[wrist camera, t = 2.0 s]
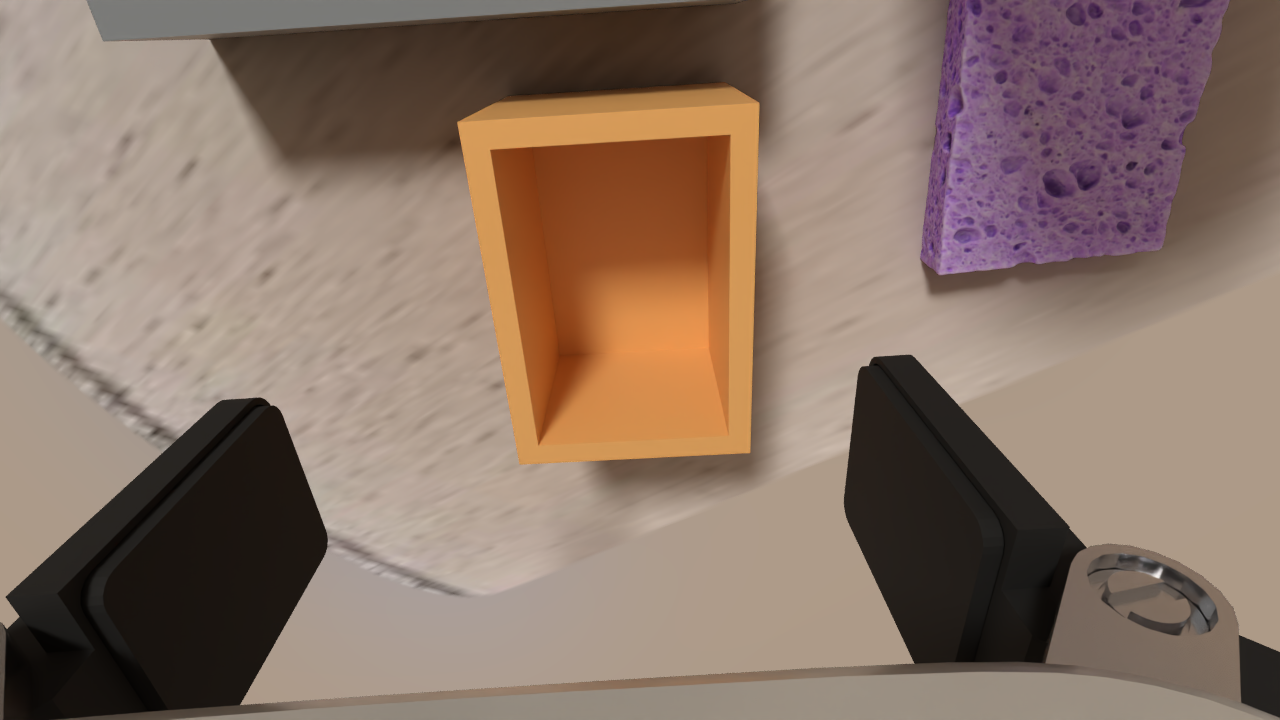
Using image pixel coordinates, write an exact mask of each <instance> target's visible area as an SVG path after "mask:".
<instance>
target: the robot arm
mask: <svg viewBox="0 0 1280 720" xmlns="http://www.w3.org/2000/svg"><path fill="white" fill-rule="evenodd" d="M844 508H845V513H846V518H847V520H848V523H849V525H850V527H851V529H852V531H853V533H854V536H855V537H856V540H857V542H858V544H859V546H860V548H861V551H862V553H863V555H864V557H865V559H866V561H867V563H868V565H869V568H870V570H871V572H872V574H873V576H874V578H875V580H876V583H877V584H878V587H879V589H880V591H881V593H882V595H883V597H884V600H885V601H886V604H887V606H888V608H889V610H890V612H891V614H892V617H893V618H894V621H895V623H896V625H897V627H898V629H899V631H900V634H901V636H902V638H903V640H904V642H905V644H906V646H907V648H908V651H909V653H910V655H911V657H912V659H913V661H914V663H915V664H898V665H876V666H854V667H831V668H810V669H792V670H776V671H759V672H745V673H744V672H742V673H726V674H708V675H693V676H676V677H659V678H642V679H625V680H609V681H592V682H579V683H562V684H546V685H532V686H531V685H530V686H516V687H501V688H500V687H499V688H485V689H469V690H454V691H440V692H424V693H410V694H393V695H378V696H364V697H349V698H335V699H321V700H309V701H293V702H279V703H265V704H253V705H252V704H251V705H240V704H241V702H242V700H243V699H244V696H245V695H246V693H247V692H248V690H249V688H250V686H251V684H252V683H253V681H254V679H255V678H256V676H257V674H258V672H259V670H260V669H261V667H262V665H263V663H264V662H265V660H266V658H267V656H268V655H269V653H270V651H271V649H272V648H273V646H274V644H275V642H276V640H277V639H278V637H279V635H280V633H281V632H282V630H283V628H284V626H285V625H286V623H287V621H288V619H289V618H290V616H291V614H292V612H293V610H294V609H295V607H296V605H297V603H298V601H299V600H300V598H301V596H302V595H303V593H304V591H305V589H306V588H307V586H308V584H309V582H310V580H311V579H312V577H313V575H314V573H315V572H316V570H317V568H318V566H319V565H320V563H321V561H322V559H323V557H324V555H325V553H326V550H327V543H328V538H327V532H326V529H325V527H324V524H323V521H322V519H321V516H320V513H319V511H318V508H317V505H316V503H315V500H314V498H313V495H312V492H311V490H310V487H309V484H308V482H307V479H306V476H305V474H304V471H303V468H302V466H301V463H300V460H299V458H298V455H297V452H296V450H295V447H294V444H293V442H292V439H291V437H290V434H289V431H288V429H287V426H286V423H285V421H284V418H283V415H282V413H281V411H280V410H279V409H278V408H277V407H276V406H270V404H269V403H268V402H267V401H266V400H265V399H263V398H246V399H231V400H222V401H220V402H218V403H217V404H216V405H215V406H214V407H212V408H211V409H210V410H209V411H208V412H207V413H206V414H205V415H204V416H203V417H202V418H200V419H199V420H198V421H197V422H196V423H195V424H194V425H193V426H192V427H191V428H190V429H188V430H187V431H186V432H185V433H184V434H183V435H182V436H181V437H180V438H179V439H177V440H176V441H175V442H174V443H173V444H172V445H171V446H170V447H169V448H168V449H167V450H165V451H164V452H163V453H162V454H161V455H160V456H159V457H158V458H157V459H156V460H155V461H153V463H151V464H150V465H149V466H148V467H147V468H146V469H145V470H144V471H143V472H142V473H140V475H138V476H137V477H136V478H135V479H134V480H133V481H132V482H130V483H129V484H128V485H127V486H126V487H125V488H124V489H123V490H122V491H121V492H120V493H119V494H117V495H116V496H115V497H114V498H113V499H112V500H111V501H110V502H109V503H108V504H107V505H105V506H104V507H103V508H102V509H101V510H100V511H99V512H98V513H97V514H96V515H94V516H93V517H92V518H91V519H90V520H89V521H88V522H87V523H86V524H85V525H84V526H82V527H81V528H80V529H79V530H78V531H77V532H76V533H75V534H74V535H73V536H71V538H69V539H68V540H67V541H66V542H65V543H64V544H63V545H62V546H61V547H59V548H58V549H57V550H56V551H55V552H54V553H53V554H52V555H51V556H50V557H49V558H47V559H46V560H45V561H44V562H43V563H42V564H41V565H40V566H39V567H38V568H37V569H35V570H34V571H33V572H32V573H31V574H30V575H29V576H28V577H27V578H26V579H25V580H24V581H22V582H21V583H20V584H19V585H18V586H17V587H16V588H15V589H14V590H13V591H11V592H10V593H9V594H8V595H7V596H6V598H7V600H8V601H9V602H10V604H11V605H12V606H13V608H14V609H15V611H16V612H17V613H18V615H19V616H20V617H19V618H18V619H17V620H16V621H15V622H14V623H13V624H12V625H11V626H10V627H9V628H8V629H6V628H5V626H4V625H3V624H2V623H1V622H0V720H1280V652H1278V651H1276V650H1273V649H1271V648H1269V647H1266V646H1264V645H1262V644H1259V643H1257V642H1254V641H1252V640H1250V639H1247V638H1245V637H1242V636H1240V635H1239V628H1238V622H1237V618H1236V615H1235V611H1234V608H1233V607H1232V606H1231V604H1230V603H1229V602H1228V600H1227V599H1226V598H1225V597H1224V595H1223V594H1222V593H1221V591H1219V590H1218V589H1217V588H1216V587H1214V585H1212V584H1211V583H1210V582H1209V581H1207V580H1206V579H1205V578H1204V577H1203V576H1202V575H1200V574H1198V573H1197V572H1195V571H1193V570H1192V569H1190V568H1188V567H1187V566H1185V565H1183V564H1181V563H1180V562H1178V561H1175V560H1173V559H1171V558H1168V557H1166V556H1163V555H1161V554H1159V553H1156V552H1153V551H1149V550H1145V549H1141V548H1137V547H1134V546H1128V545H1118V544H1102V545H1095V546H1090V547H1088V548H1086V546H1085V545H1084V544H1083V543H1082V542H1081V541H1080V540H1079V539H1078V538H1077V537H1076V535H1075V534H1074V533H1073V532H1072V531H1071V530H1070V529H1069V528H1070V527H1069V526H1068V525H1067V523H1065V521H1064V520H1063V519H1062V518H1061V517H1060V516H1059V515H1058V514H1057V513H1056V511H1055V510H1054V509H1053V508H1052V507H1051V506H1050V505H1049V504H1048V503H1047V502H1046V501H1045V499H1044V498H1043V497H1042V496H1041V495H1040V494H1039V493H1038V492H1037V491H1036V490H1035V488H1034V487H1033V486H1032V485H1031V484H1030V483H1029V482H1028V481H1027V480H1026V479H1025V478H1024V476H1023V475H1022V474H1021V473H1020V472H1019V471H1018V470H1017V469H1016V468H1015V467H1014V466H1013V465H1012V463H1011V462H1010V461H1009V460H1008V459H1007V458H1006V457H1005V456H1004V455H1003V454H1002V452H1001V451H1000V450H999V449H998V448H997V447H996V446H995V445H994V444H993V443H992V442H991V440H990V439H988V437H987V436H986V435H985V434H984V433H983V432H982V431H981V430H980V428H979V427H978V426H977V425H976V424H975V423H974V422H973V421H972V420H971V419H970V418H969V416H968V415H967V414H966V413H965V412H964V411H963V410H962V409H961V408H960V407H959V405H958V404H957V403H956V402H955V401H954V400H953V399H952V398H951V397H950V396H949V395H948V393H947V392H946V391H945V390H944V389H943V388H942V387H941V386H940V385H939V384H938V383H937V381H936V380H935V379H934V378H933V377H932V376H931V375H930V374H929V373H928V372H927V370H926V369H925V368H924V367H923V366H922V365H921V364H920V363H919V362H918V361H917V360H916V358H915V357H913V356H912V355H896V356H881V357H874V358H873V359H871V362H870V364H869V366H864V367H861V368H860V370H859V373H858V380H857V388H856V397H855V406H854V415H853V424H852V433H851V441H850V450H849V459H848V468H847V478H846V486H845V494H844Z"/></svg>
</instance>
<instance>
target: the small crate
mask: <svg viewBox="0 0 1280 720" xmlns="http://www.w3.org/2000/svg"><path fill="white" fill-rule="evenodd" d="M457 124H458V129H459V135H460V140H461V146H462V151H463V156H464V162H465V167H466V173H467V178H468V184H469V189H470V195H471V200H472V206H473V211H474V217H475V222H476V228H477V233H478V239H479V244H480V250H481V255H482V261H483V266H484V272H485V277H486V283H487V288H488V293H489V299H490V304H491V310H492V315H493V321H494V326H495V332H496V337H497V343H498V348H499V354H500V359H501V365H502V370H503V376H504V381H505V387H506V392H507V398H508V403H509V409H510V414H511V420H512V425H513V430H514V436H515V441H516V447H517V452H518V458H519V463H520V464H540V463H560V462H580V461H600V460H620V459H640V458H659V457H679V456H699V455H719V454H739V453H750V442H751V404H752V366H753V328H754V290H755V252H756V214H757V176H758V138H759V102H757V101H756V100H754V99H752V98H751V97H749V96H747V95H745V94H744V93H742V92H740V91H739V90H737V89H735V88H734V87H732V86H730V85H729V84H727V83H725V82H718V83H702V84H687V85H671V86H656V87H641V88H625V89H610V90H594V91H579V92H563V93H548V94H533V95H517V96H508V97H506V98H504V99H502V100H500V101H498V102H496V103H494V104H492V105H490V106H488V107H486V108H484V109H482V110H480V111H478V112H476V113H474V114H472V115H470V116H468V117H466V118H464V119H462V120H460V121H458V122H457Z"/></svg>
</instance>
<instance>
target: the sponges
mask: <svg viewBox="0 0 1280 720" xmlns="http://www.w3.org/2000/svg"><path fill="white" fill-rule="evenodd" d="M1229 2H1230V0H950V4H949V9H948V13H947V28H946V36H945V46H944V57H943V63H942V75H941V82H940V90H939V100H938V111H937V116H936V123H935V125H936V129H937V133H936V136H935V145H934V150H933V153H932V158H931V168H930V176H929V185H928V196H927V201H926V210H925V219H924V226H923V237H922V251H921V256H920V259H921V260H922V261H923V262H924V263H925V264H926V265H928V266H929V267H930V268H933V269H934V271H935V272H936V273H937V274H938V275H946V274H954V273H965V272H973V271H988V270H994V269H1002V268H1011V267H1014V266H1015V265H1016V264H1018V263H1024V262H1032V263H1035V264H1043V263H1049V262H1056V261H1069V260H1071V259H1072V258H1076V257H1079V258H1087V257H1092V256H1099V257H1100V256H1102V255H1111V256H1119V255H1125V254H1132V253H1136V252H1143V251H1158V250H1160V249H1161V248H1162V247H1163V242H1164V238H1165V235H1166V224H1167V221H1168V218H1169V215H1170V211H1171V204H1172V200H1173V198H1174V196H1175V194H1176V191H1177V186H1178V183H1179V179H1180V173H1181V166H1182V162H1183V159H1184V156H1185V152H1186V148H1185V146H1184V145H1183V144H1182V138H1183V133H1184V130H1185V127H1186V126H1187V125H1188V124H1189V123H1190V122H1192V121H1194V119H1195V117H1196V114H1197V111H1198V107H1199V103H1200V98H1201V96H1202V94H1203V91H1204V89H1205V85H1206V83H1207V80H1208V78H1209V75H1210V73H1211V67H1212V51H1213V49H1214V47H1215V45H1216V44H1217V42H1218V40H1219V37H1220V34H1221V30H1222V19H1223V15H1224V13H1225V12H1226V10H1227V8H1228V5H1229Z"/></svg>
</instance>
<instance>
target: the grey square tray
mask: <svg viewBox="0 0 1280 720" xmlns="http://www.w3.org/2000/svg"><path fill="white" fill-rule="evenodd" d="M743 1H746V0H87V3H88V5H89V8H90V10H91V13H92V15H93V17H94V20H95V22H96V25H97V27H98V30H99V32H100V35H101V37H102V40H103V41H144V40H193V39H219V38H233V37H248V36H263V35H278V34H292V33H307V32H322V31H337V30H351V29H366V28H381V27H396V26H410V25H425V24H440V23H455V22H469V21H484V20H499V19H514V18H528V17H543V16H558V15H573V14H587V13H602V12H617V11H632V10H646V9H661V8H676V7H691V6H705V5H720V4H735V3H739V2H743Z"/></svg>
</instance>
